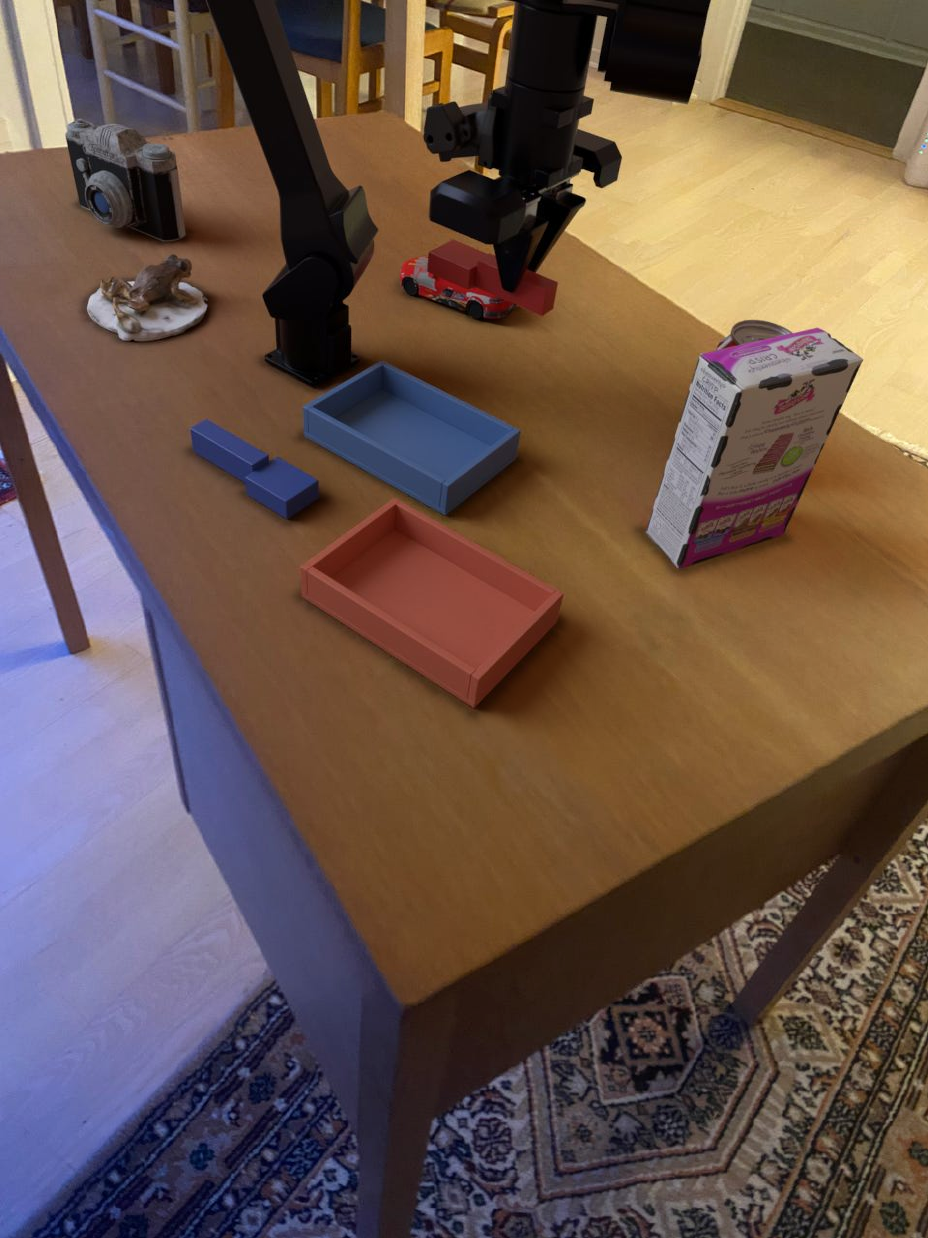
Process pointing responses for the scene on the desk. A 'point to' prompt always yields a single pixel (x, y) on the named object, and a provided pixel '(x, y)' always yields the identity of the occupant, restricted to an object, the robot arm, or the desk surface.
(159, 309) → the frog figurine
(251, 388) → the desk surface
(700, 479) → the candy bar box
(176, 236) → the camera
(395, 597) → the terracotta bin
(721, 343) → the soda can
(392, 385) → the blue bin
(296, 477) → the blue stepped bar
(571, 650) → the desk surface
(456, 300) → the race car
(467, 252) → the stepped red stick
